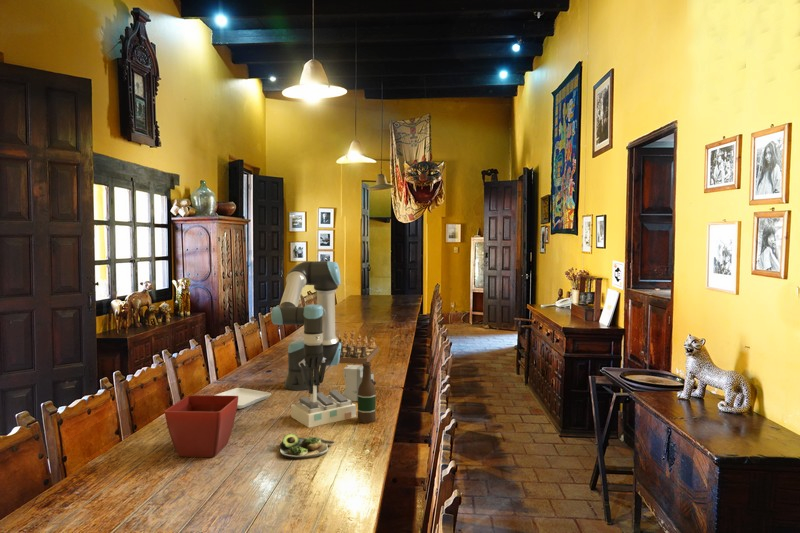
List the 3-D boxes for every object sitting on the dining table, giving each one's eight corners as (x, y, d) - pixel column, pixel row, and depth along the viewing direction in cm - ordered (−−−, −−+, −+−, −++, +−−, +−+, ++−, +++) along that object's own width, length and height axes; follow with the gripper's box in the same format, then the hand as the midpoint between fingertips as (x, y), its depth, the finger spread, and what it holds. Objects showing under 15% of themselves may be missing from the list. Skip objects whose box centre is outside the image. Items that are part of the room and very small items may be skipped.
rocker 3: (329, 394, 226) (329, 390, 226) (335, 392, 228) (335, 389, 228) (340, 404, 218) (341, 401, 218) (347, 403, 220) (347, 399, 220)
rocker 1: (299, 401, 218) (299, 397, 218) (306, 400, 220) (306, 396, 220) (310, 409, 210) (310, 405, 210) (317, 407, 212) (317, 403, 212)
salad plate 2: (332, 438, 196) (332, 426, 196) (337, 457, 179) (337, 444, 179) (279, 442, 192) (279, 430, 192) (279, 462, 175) (279, 448, 174)
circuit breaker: (372, 402, 239) (373, 370, 239) (343, 400, 242) (343, 368, 242) (376, 397, 247) (377, 366, 246) (347, 395, 250) (348, 364, 249)
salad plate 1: (272, 399, 244) (272, 392, 244) (241, 412, 225) (241, 404, 225) (237, 393, 253) (237, 386, 253) (204, 406, 234) (204, 398, 234)
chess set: (321, 349, 360) (321, 327, 360) (379, 351, 354) (379, 329, 354) (302, 362, 321) (302, 338, 320) (366, 364, 315) (366, 340, 314)
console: (291, 416, 219) (291, 401, 219) (336, 407, 232) (336, 392, 232) (309, 427, 206) (309, 411, 206) (356, 416, 219) (356, 401, 219)
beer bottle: (378, 418, 218) (379, 361, 217) (371, 424, 210) (372, 365, 209) (361, 416, 220) (361, 359, 219) (354, 422, 213) (354, 363, 212)
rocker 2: (314, 396, 222) (315, 393, 222) (321, 395, 224) (321, 392, 223) (326, 407, 214) (326, 404, 214) (332, 406, 216) (333, 402, 216)
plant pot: (188, 439, 193) (188, 394, 193) (239, 440, 193) (239, 395, 192) (163, 461, 174) (163, 411, 174) (220, 462, 174) (219, 412, 173)
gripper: (302, 347, 203) (303, 406, 205) (332, 343, 211) (332, 400, 213) (294, 343, 209) (294, 401, 211) (323, 340, 217) (323, 395, 219)
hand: (313, 401), depth 212 cm, fingers closed
